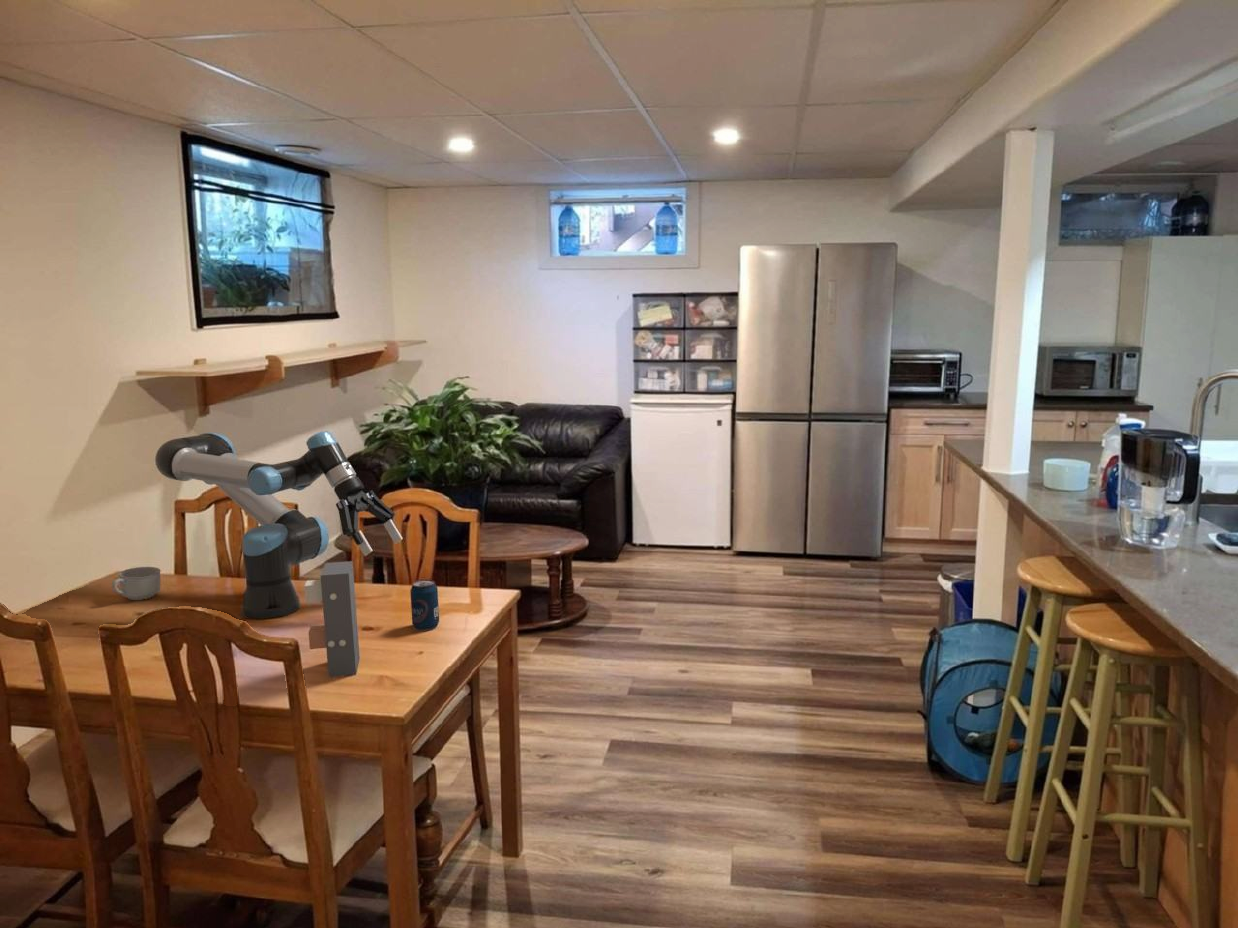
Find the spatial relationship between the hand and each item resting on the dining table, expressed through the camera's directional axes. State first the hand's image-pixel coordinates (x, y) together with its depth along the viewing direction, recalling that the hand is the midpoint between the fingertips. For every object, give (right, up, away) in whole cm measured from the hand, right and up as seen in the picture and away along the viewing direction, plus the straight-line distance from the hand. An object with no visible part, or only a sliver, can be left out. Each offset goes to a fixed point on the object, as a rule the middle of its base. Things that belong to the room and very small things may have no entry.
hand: (384, 547), depth 243 cm
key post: (+1, -24, -39) cm, 46 cm away
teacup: (-76, -17, +14) cm, 79 cm away
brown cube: (-4, -19, -41) cm, 45 cm away
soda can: (+14, -20, -13) cm, 28 cm away
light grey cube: (-4, -8, -43) cm, 44 cm away
